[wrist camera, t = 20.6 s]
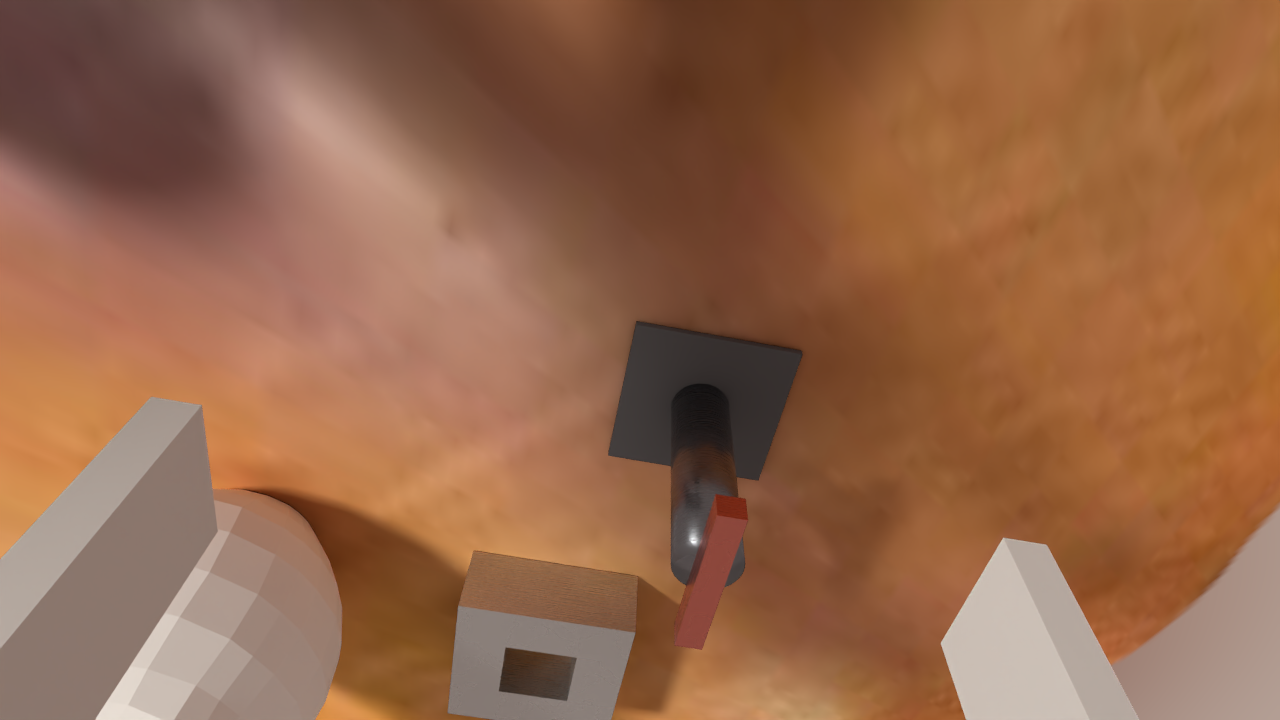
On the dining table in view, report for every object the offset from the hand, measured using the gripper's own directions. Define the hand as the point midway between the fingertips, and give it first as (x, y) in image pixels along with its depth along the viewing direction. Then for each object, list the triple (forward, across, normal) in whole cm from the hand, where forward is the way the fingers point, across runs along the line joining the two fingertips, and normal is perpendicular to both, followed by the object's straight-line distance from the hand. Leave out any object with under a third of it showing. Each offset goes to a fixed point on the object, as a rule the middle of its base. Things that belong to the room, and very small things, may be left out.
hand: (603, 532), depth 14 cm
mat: (+32, +7, -19) cm, 38 cm away
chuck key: (+31, +7, -19) cm, 37 cm away
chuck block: (+32, 0, -41) cm, 52 cm away
